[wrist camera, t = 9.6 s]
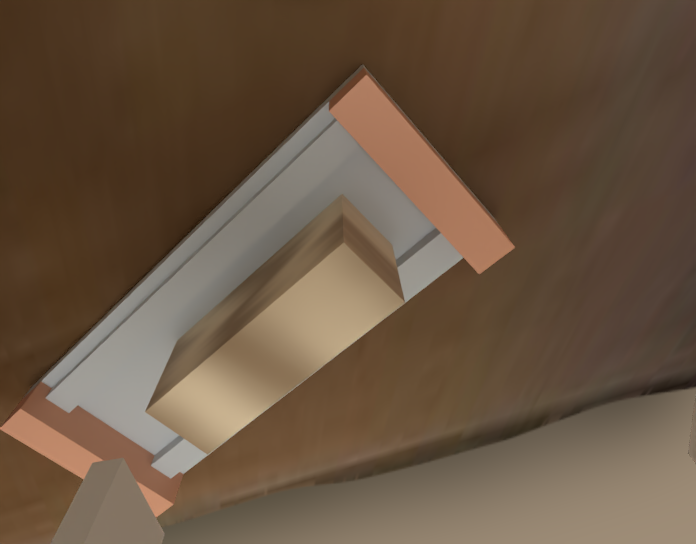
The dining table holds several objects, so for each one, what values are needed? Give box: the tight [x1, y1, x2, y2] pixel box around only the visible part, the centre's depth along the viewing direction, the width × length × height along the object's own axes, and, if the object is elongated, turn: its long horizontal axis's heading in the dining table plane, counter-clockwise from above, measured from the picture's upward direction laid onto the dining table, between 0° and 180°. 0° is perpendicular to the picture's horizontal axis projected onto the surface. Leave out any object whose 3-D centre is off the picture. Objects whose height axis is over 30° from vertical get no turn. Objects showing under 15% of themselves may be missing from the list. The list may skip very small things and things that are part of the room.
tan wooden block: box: [145, 194, 405, 455], centre depth 25 cm, size 12×4×6 cm, turn 133°
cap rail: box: [0, 64, 515, 517], centre depth 28 cm, size 26×10×3 cm, turn 133°
